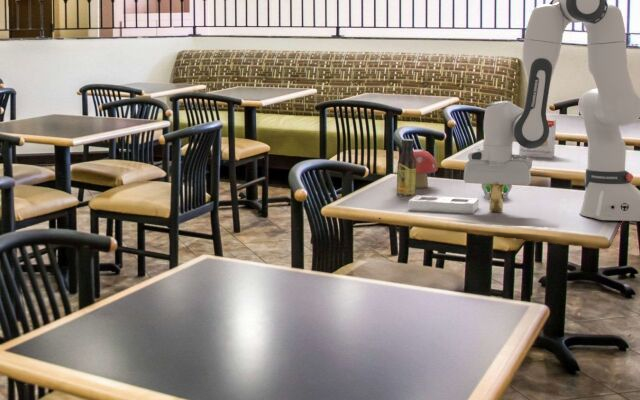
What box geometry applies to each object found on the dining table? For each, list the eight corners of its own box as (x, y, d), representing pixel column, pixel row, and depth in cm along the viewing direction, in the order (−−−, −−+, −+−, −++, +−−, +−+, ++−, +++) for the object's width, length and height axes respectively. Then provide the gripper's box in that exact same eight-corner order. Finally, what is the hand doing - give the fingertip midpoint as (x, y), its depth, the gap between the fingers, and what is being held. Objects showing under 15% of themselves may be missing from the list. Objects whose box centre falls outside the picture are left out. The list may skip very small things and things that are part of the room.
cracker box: (518, 168, 397) (520, 119, 394) (521, 166, 403) (522, 118, 399) (551, 170, 392) (553, 120, 389) (553, 168, 397) (556, 119, 394)
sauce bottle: (393, 197, 316) (394, 138, 313) (410, 196, 318) (411, 138, 315) (401, 199, 310) (402, 140, 307) (418, 199, 312) (419, 139, 309)
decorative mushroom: (390, 191, 328) (391, 149, 326) (415, 188, 337) (416, 146, 335) (420, 196, 319) (421, 152, 316) (444, 192, 328) (445, 149, 325)
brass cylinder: (503, 209, 289) (504, 180, 288) (501, 211, 285) (502, 182, 284) (490, 208, 290) (491, 180, 289) (488, 210, 286) (489, 181, 285)
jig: (478, 207, 295) (478, 198, 295) (472, 213, 284) (473, 204, 283) (416, 204, 301) (416, 195, 300) (408, 210, 290) (408, 200, 289)
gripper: (533, 154, 285) (531, 198, 287) (466, 152, 291) (465, 195, 293) (531, 156, 279) (529, 201, 281) (463, 154, 285) (462, 198, 287)
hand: (496, 198), depth 287 cm, fingers closed on brass cylinder, 4 cm apart
